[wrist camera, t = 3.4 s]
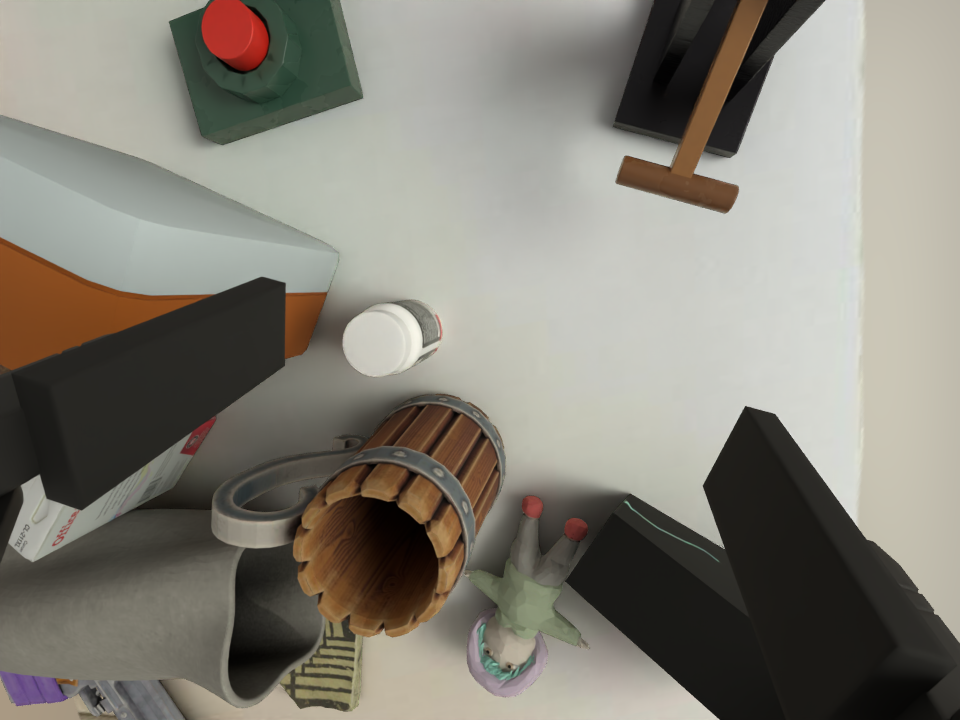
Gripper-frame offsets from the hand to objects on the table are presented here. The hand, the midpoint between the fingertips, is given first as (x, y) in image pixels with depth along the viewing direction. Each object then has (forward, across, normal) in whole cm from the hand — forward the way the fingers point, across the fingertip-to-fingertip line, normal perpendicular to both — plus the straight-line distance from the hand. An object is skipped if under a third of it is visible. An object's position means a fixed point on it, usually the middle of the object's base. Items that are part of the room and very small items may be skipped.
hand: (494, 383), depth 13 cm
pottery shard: (+13, -9, -35) cm, 38 cm away
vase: (+8, -40, -36) cm, 54 cm away
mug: (+18, -6, -18) cm, 26 cm away
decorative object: (+17, +17, -20) cm, 31 cm away
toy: (+17, +6, -18) cm, 25 cm away
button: (+21, -23, +8) cm, 32 cm away
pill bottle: (+21, -8, -8) cm, 24 cm away
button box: (+25, -23, +7) cm, 35 cm away
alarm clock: (+21, -24, -7) cm, 33 cm away
